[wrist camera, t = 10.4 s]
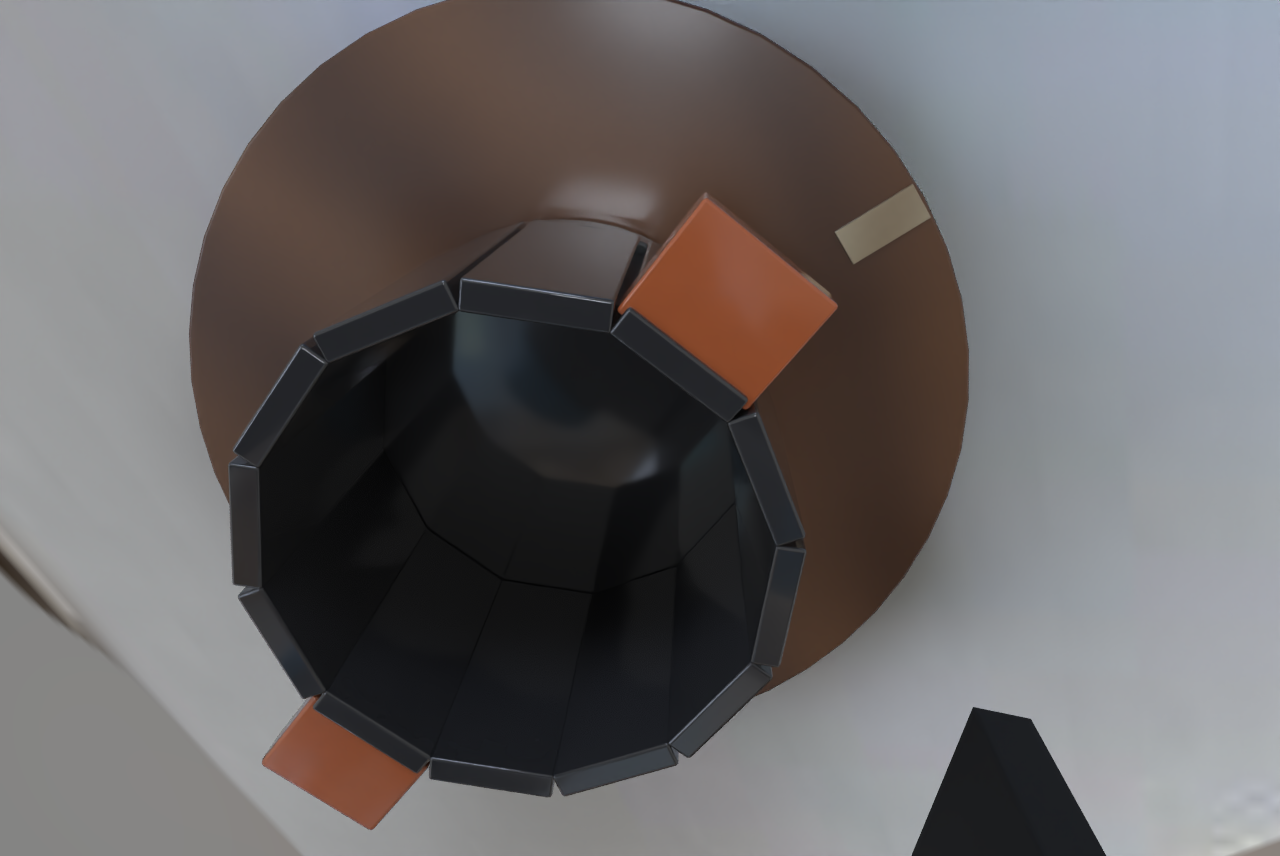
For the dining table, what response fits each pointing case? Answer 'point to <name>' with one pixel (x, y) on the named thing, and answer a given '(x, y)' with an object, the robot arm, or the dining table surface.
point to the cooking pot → (528, 511)
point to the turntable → (622, 197)
